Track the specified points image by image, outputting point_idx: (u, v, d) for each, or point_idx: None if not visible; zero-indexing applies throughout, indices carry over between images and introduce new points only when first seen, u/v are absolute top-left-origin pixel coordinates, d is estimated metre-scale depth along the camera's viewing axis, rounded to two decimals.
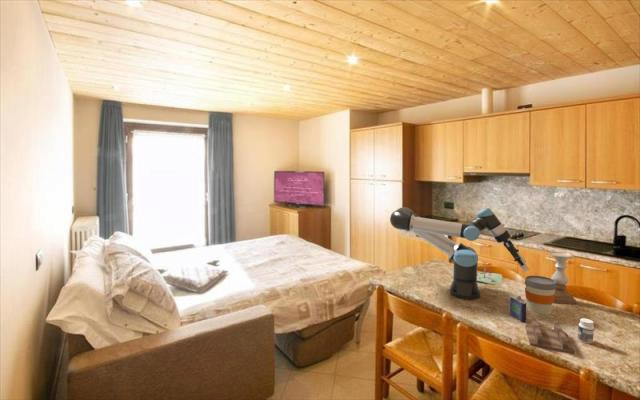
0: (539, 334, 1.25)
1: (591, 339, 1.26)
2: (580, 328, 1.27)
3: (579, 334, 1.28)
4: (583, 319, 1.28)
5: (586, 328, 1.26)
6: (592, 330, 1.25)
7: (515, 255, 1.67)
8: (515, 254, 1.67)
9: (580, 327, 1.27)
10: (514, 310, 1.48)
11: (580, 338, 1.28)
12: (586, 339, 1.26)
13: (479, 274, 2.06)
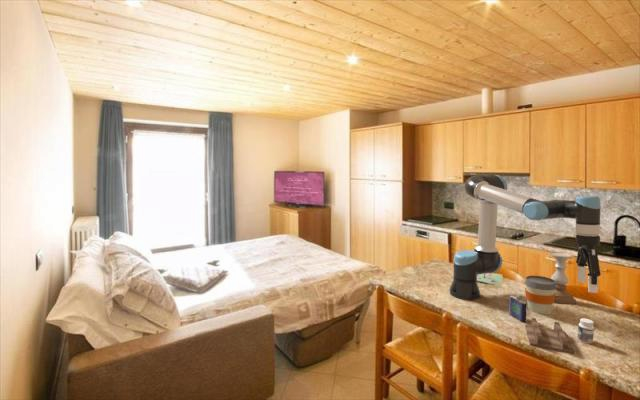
0: (539, 334, 1.25)
1: (591, 339, 1.26)
2: (580, 328, 1.27)
3: (579, 334, 1.28)
4: (583, 319, 1.28)
5: (586, 328, 1.26)
6: (592, 330, 1.25)
7: (596, 269, 1.21)
8: (596, 267, 1.21)
9: (580, 327, 1.27)
10: (514, 310, 1.48)
11: (580, 338, 1.28)
12: (586, 339, 1.26)
13: (479, 274, 2.06)
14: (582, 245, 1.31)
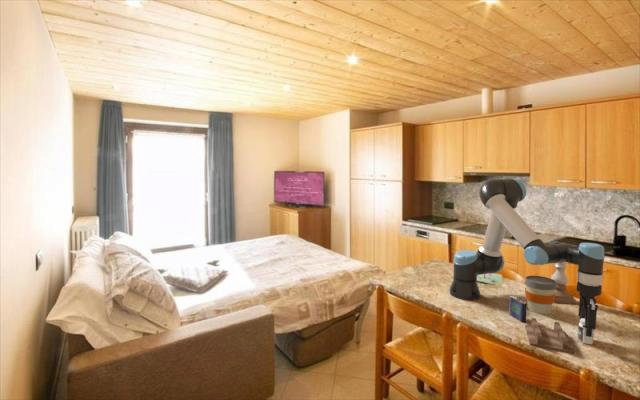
0: (539, 334, 1.25)
1: None
2: (580, 328, 1.27)
3: (579, 334, 1.28)
4: (583, 319, 1.28)
5: None
6: None
7: (592, 323, 1.22)
8: (593, 322, 1.21)
9: (580, 327, 1.27)
10: (514, 310, 1.48)
11: (580, 338, 1.28)
12: None
13: None
14: None
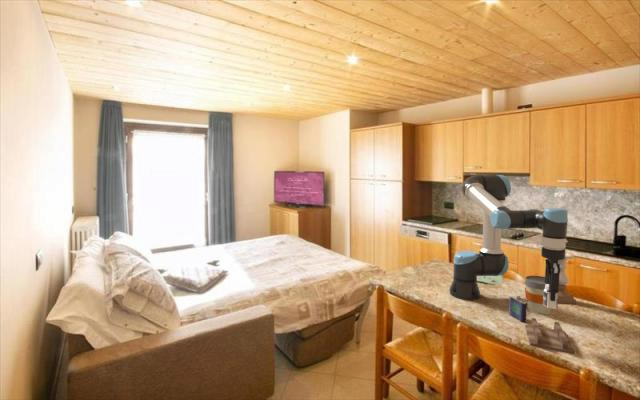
0: (539, 334, 1.25)
1: None
2: (545, 293, 1.27)
3: (544, 299, 1.28)
4: (548, 284, 1.28)
5: None
6: None
7: (555, 287, 1.22)
8: (556, 286, 1.21)
9: (545, 292, 1.27)
10: (514, 310, 1.48)
11: (545, 303, 1.27)
12: None
13: None
14: None
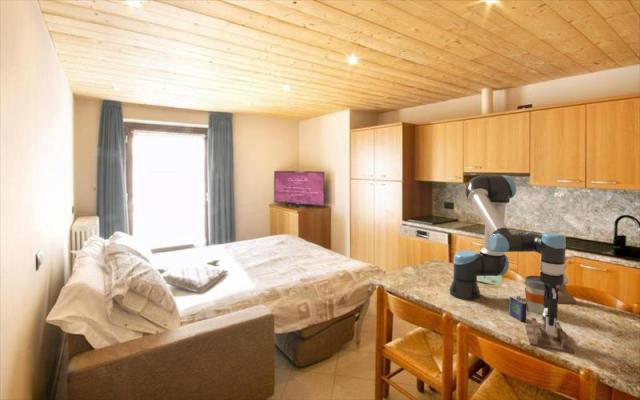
0: (539, 334, 1.25)
1: None
2: (543, 317, 1.28)
3: (543, 323, 1.29)
4: (547, 308, 1.29)
5: None
6: (555, 319, 1.26)
7: (553, 312, 1.22)
8: (554, 311, 1.22)
9: (543, 316, 1.28)
10: (514, 310, 1.48)
11: (543, 328, 1.28)
12: None
13: None
14: None
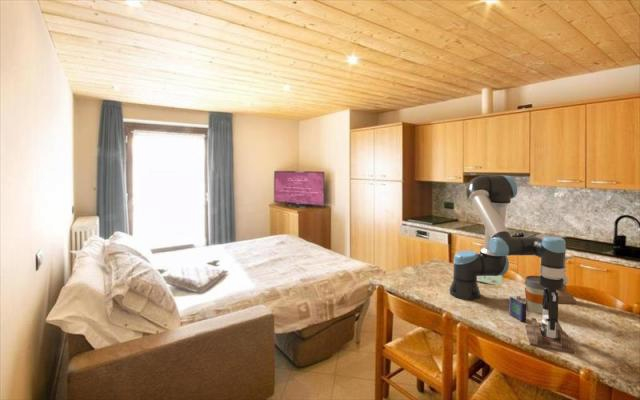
0: (539, 334, 1.25)
1: None
2: (543, 324, 1.29)
3: (542, 330, 1.29)
4: (546, 315, 1.29)
5: None
6: None
7: (554, 316, 1.21)
8: (555, 315, 1.21)
9: (543, 323, 1.29)
10: (514, 310, 1.48)
11: (543, 334, 1.29)
12: None
13: None
14: None
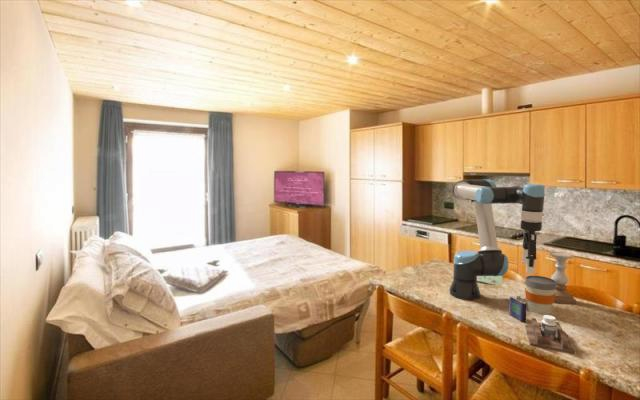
0: (539, 334, 1.25)
1: (553, 335, 1.27)
2: (543, 324, 1.29)
3: (542, 330, 1.29)
4: (546, 315, 1.29)
5: (548, 324, 1.27)
6: (554, 326, 1.27)
7: (533, 253, 1.31)
8: (533, 252, 1.31)
9: (543, 323, 1.29)
10: (514, 310, 1.48)
11: (543, 334, 1.29)
12: (548, 335, 1.27)
13: None
14: (526, 230, 1.40)
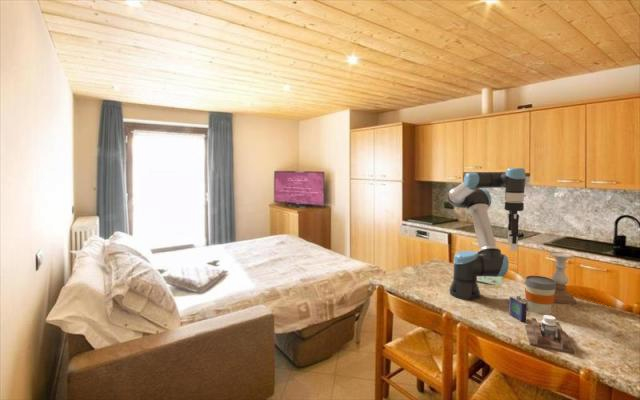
0: (539, 334, 1.25)
1: (553, 335, 1.27)
2: (543, 324, 1.29)
3: (542, 330, 1.29)
4: (546, 316, 1.29)
5: (548, 324, 1.27)
6: (554, 326, 1.27)
7: (515, 230, 1.41)
8: (516, 229, 1.41)
9: (543, 323, 1.29)
10: (514, 310, 1.48)
11: (543, 334, 1.29)
12: (548, 335, 1.27)
13: None
14: (510, 211, 1.51)
